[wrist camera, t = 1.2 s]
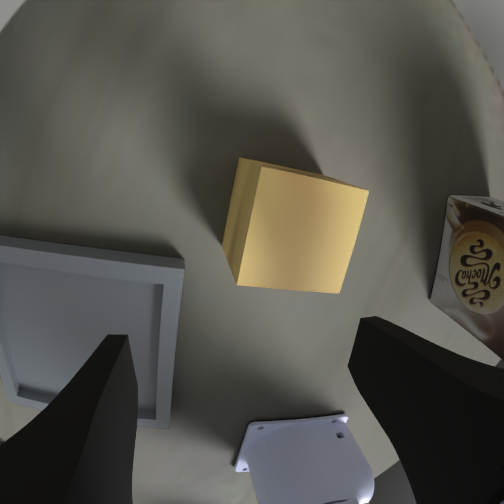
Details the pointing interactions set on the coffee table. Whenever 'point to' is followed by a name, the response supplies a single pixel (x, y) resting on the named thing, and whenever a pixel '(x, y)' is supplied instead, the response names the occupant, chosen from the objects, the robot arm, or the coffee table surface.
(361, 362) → the robot arm
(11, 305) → the tray
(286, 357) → the coffee table surface
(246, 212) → the cube
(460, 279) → the coffee box
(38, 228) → the coffee table surface
